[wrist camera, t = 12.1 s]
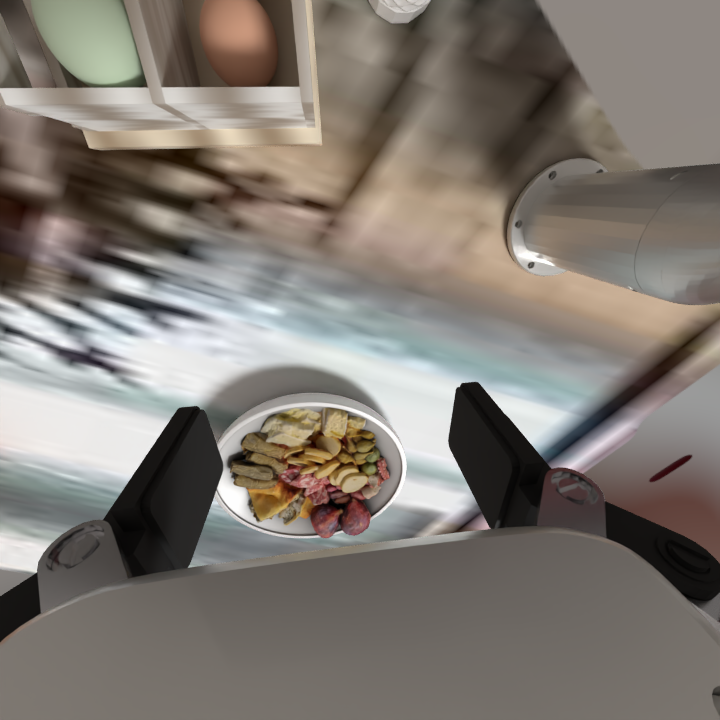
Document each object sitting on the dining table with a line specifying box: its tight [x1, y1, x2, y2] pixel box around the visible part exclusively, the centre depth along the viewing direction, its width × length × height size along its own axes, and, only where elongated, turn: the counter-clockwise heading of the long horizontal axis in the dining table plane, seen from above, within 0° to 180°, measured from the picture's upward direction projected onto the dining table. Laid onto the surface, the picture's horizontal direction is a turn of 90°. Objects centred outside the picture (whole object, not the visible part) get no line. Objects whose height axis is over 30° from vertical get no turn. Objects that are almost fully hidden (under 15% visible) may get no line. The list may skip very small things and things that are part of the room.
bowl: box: [214, 393, 407, 538], centre depth 47 cm, size 30×30×8 cm
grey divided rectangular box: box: [0, 0, 322, 150], centre depth 22 cm, size 21×12×10 cm, turn 92°
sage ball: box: [31, 0, 146, 88], centre depth 19 cm, size 6×6×6 cm
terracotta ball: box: [199, 0, 278, 87], centre depth 23 cm, size 6×6×6 cm
